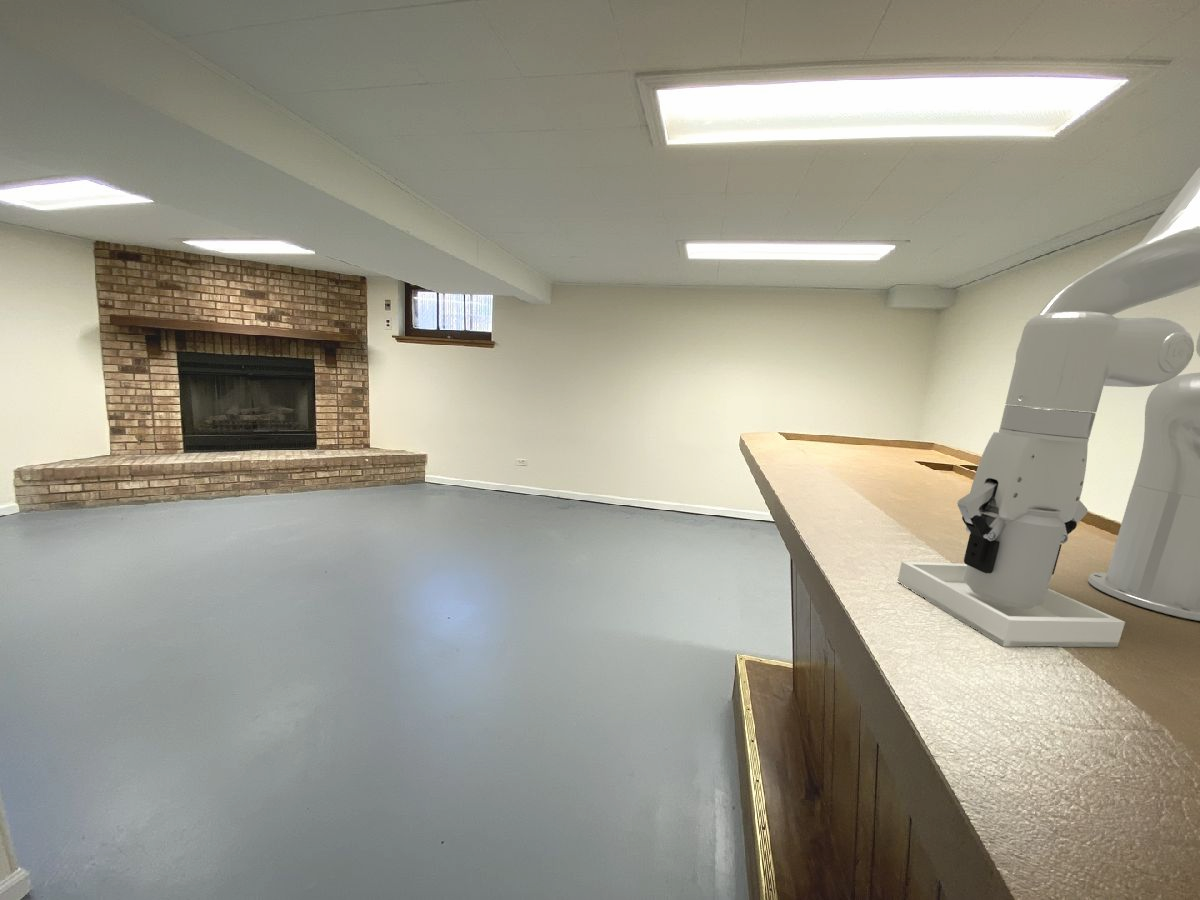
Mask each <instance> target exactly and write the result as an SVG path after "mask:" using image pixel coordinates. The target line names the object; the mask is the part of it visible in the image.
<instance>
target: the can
mask: <svg viewBox="0 0 1200 900" xmlns="http://www.w3.org/2000/svg"><path fill="white" fill-rule="evenodd" d="M989 511H992V512H995V513H998V511H999V509H996V508H991V509H990V510H989ZM1028 511H1029V512H1028V513H1027V514H1026V515H1024V516H1022V517H1020V518H1019V519H1017V520H1015V521H1010V522H1007V523H1006V525H1005V528H1004V529H1003V530H1002V531H1001V532H1000V534H999V535H998V536H997V537H996V539H995V540H996V541H998V542H1000V543H999V549H998V553H997V557H996V561H995V565H994V569H993V572H992V573H984V572H981V571H979V570H977V569H975V568H973V567H971V566H969V565H967V568H966V572H965V576H964V581H965V582H966V584H967V585H968V586H969V587H970V589H971V590H972V591H973V592H974V593H975V594H977V595H979V596H981V597H983V598H985V599H987V600H990V601H992V602H995V603H998V604H1001V605H1005V606H1009V607H1014V608H1020V609H1030V608H1033V607H1035V606H1039V605H1043V603H1044V601H1045V598H1046V594H1047V590H1048V588H1049V586H1050V582H1051V579H1052V576H1053V575H1052V572H1053V569H1054V565H1055V561H1056V558H1057V554H1058V551H1059V547H1060V544H1061V540H1062V536H1063V532H1064V529H1065V524H1064V523H1063V521H1062V520H1061V519H1060V517H1059V516H1058V514H1060V513H1061V511H1060V510H1057V511H1044V510H1037V509H1028ZM993 521H994V519H991V518H988V517H986V523H987V525H988V526H990V525H991V523H992V522H993Z"/></svg>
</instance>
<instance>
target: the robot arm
mask: <svg viewBox="0 0 1200 900" xmlns="http://www.w3.org/2000/svg"><path fill="white" fill-rule="evenodd" d="M1199 286H1200V166H1199V167H1198V168H1197V169H1196V171H1195V172H1194V173H1193V174H1192V176H1191V177H1190V178H1189V180H1188V181H1187V182H1186V183H1185V185H1184V186H1183V187H1182V188H1181V190H1179V192H1178V194H1177V195H1176V196H1175V197H1174V199H1173V200H1172V201H1171V202H1170V204H1169V205H1168V207H1167V208H1166V209H1165V210H1164V211H1163V213H1162V214H1161V216H1160V217H1159V218H1158V220H1157V221H1155V223H1154V225H1152V227H1151V228H1150V230H1149V231H1148V232H1147V234H1146V235H1145V236H1144V238H1143V239H1142V240H1141V241H1140V242H1139V243H1138V244H1135V245H1134V246H1132V247H1130V248H1128V249H1127V250H1124V251H1123V252H1121V253H1119V254H1117V255H1114V256H1113V257H1112V258H1110V259H1108V260H1107V261H1105V262H1104V263H1102V264H1100V265H1099V266H1097V267H1095V268H1094V269H1092V270H1090V271H1089V272H1087V273H1085V274H1083V275H1082V276H1081V277H1079V278H1076V280H1074V281H1073V282H1071V283H1068V285H1067V286H1065V287H1063V289H1061V290H1060V291H1059V292H1058V293H1056V294H1055V295H1054V296H1053V297H1051V299H1049V301H1048V302H1046V304H1045V305H1044V307H1043V308H1042V309H1041V310H1040V311H1039V313H1038V314H1037V315H1035V316H1033V317H1032V318H1030V319H1029V320H1028V321H1027V322H1026V324H1025V325H1024V327H1023V329H1022V333H1021V337H1020V341H1019V342H1018V346H1017V349H1016V352H1015V362H1014V365H1013V371H1012V375H1011V379H1010V383H1009V388H1008V392H1007V395H1006V396H1007V397H1006V399H1005V405H1004V410H1003V412H1002V416H1001V417H1002V418H1001V422H1000V426H999V428H998V432H995V431H994V432H993V433H992V435H991V436H990V438H989V439H988V442H987V444H986V446H985V448H984V450H983V453H982V455H981V458H980V461H979V462H978V466H977V469H976V471H975V474H974V477H973V481H972V484H971V488H970V491H969V493H967V494H966V495H965V496H963V497H962V498H960V499H959V500H958V501H957V503H956V504H957V507H958V509H959V511H960V514H961V516H962V517H961V520H962V521H963V523H964V524H965V526H966V528H965V530H966V532H967V533H969V535H968V536H969V537H968V540H967V545H966V549H965V554H964V557H963V562H964V563H963V564H967V565H969V566H971V567H973V568H975V569H977V570H979V571H981V572H984V573H992V572H993V569H994V565H995V561H996V557H997V553H998V549H999V543H1000V542H998V541H996V540H995V539H996V537H997V536H998V535H999V534H1000V532H1001V531H1002V530H1003V529H1004V528H1005V525H1006V523H1007V522H1010V521H1015V520H1017V519H1019V518H1020V517H1022V516H1024V515H1026V514H1027V513H1028V512H1029V511H1028V509H1037V510H1044V511H1057V510H1060V511H1061V513H1060V514H1058V516H1059V517H1060V519H1061V520H1062V521H1063V523H1064V524H1065V529H1064V532H1063V536H1062V540H1061V543H1060V547H1059V551H1058V554H1057V558H1056V561H1055V565H1054V569H1053V572H1052V576H1053V575H1054V574H1055V570H1056V567H1057V563H1058V560H1059V556H1060V552H1061V548H1062V546H1063V545H1064V544H1066V543H1067V541H1068V540H1069V534H1071V533H1072V532H1073V531H1074V530H1075V529H1076V528H1077V526H1078V524H1079V522H1080V521H1081V520H1083V518H1084V517H1085V516H1086V515H1087V514H1088V508H1087V507H1086V506H1085V505H1084V503H1083V502H1082V501H1081V500H1080V499H1081V495H1082V492H1083V487H1084V482H1085V476H1086V471H1087V460H1088V447H1089V445H1088V444H1089V440H1090V437H1091V433H1092V429H1093V425H1094V422H1095V419H1096V415H1097V411H1098V408H1099V403H1100V402H1101V401H1100V400H1101V396H1102V393H1103V391H1104V387H1118V388H1120V387H1121V388H1122V387H1123V388H1134V387H1135V388H1141V387H1143V388H1144V387H1149V386H1151V387H1152V386H1155V385H1156V386H1155V387H1153V389H1152V390H1151V391H1150V393H1149V395H1148V397H1147V400H1146V403H1145V407H1144V408H1145V409H1144V431H1143V432H1144V433H1143V444H1142V450H1141V455H1140V459H1139V463H1138V467H1137V471H1136V474H1135V477H1134V481H1133V484H1132V487H1131V490H1130V494H1129V497H1128V501H1127V504H1126V507H1125V509H1124V510H1125V511H1124V514H1123V517H1122V520H1121V524H1120V528H1119V531H1118V534H1117V538H1116V542H1115V545H1114V548H1113V550H1112V551H1113V552H1112V555H1111V559H1110V562H1109V565H1108V567H1107V572H1100V571H1099V572H1092V573H1090V574H1089V576H1088V583H1089V584H1090V585H1091V586H1092V587H1094V588H1095V589H1097V590H1098V591H1101V592H1103V593H1105V594H1107V595H1109V596H1112V597H1113V598H1116V599H1119V600H1121V601H1125V602H1126V603H1129V604H1133V605H1135V606H1138V607H1142V608H1143V609H1148V610H1151V611H1154V612H1158V613H1161V614H1162V613H1163V614H1165V615H1170V616H1173V617H1178V618H1182V619H1186V620H1192V621H1198V622H1200V372H1191V373H1185V374H1184V373H1183V374H1181V373H1182V372H1183V371H1184V370H1185V369H1186V368H1187V367H1188V365H1189V364H1190V362H1191V361H1192V358H1193V356H1194V352H1195V351H1194V350H1195V349H1196V354H1197V356H1198V357H1199V358H1200V332H1199V334H1198V336H1197V339H1196V340H1197V341H1196V345H1194V344H1195V343H1194V339H1193V337H1192V335H1191V333H1190V332H1189V331H1188V329H1187V328H1186V327H1184V326H1183V325H1181V324H1180V323H1178V322H1176V321H1174V320H1170V319H1166V318H1161V317H1137V318H1135V317H1132V318H1131V317H1130V318H1129V317H1115V316H1114V315H1116V314H1119V313H1121V312H1123V311H1125V310H1128V309H1131V308H1134V307H1136V306H1140V305H1143V304H1144V305H1145V304H1146V303H1150V302H1153V301H1157V300H1159V299H1164V298H1167V297H1171V296H1173V295H1177V294H1179V293H1182V292H1186V291H1188V290H1191V289H1194V288H1196V287H1199ZM1195 347H1196V348H1195ZM1179 374H1180V375H1179ZM991 508H996V509H999V511H998V513H995V512H992V511H989V510H990V509H991ZM986 517H988V518H991V519H994V521H993V522H992V523H991V525H990V526H988V525H987V523H986Z"/></svg>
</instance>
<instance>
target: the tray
mask: <svg viewBox="0 0 1200 900" xmlns="http://www.w3.org/2000/svg"><path fill="white" fill-rule="evenodd" d="M900 563H901V565H900V569H899V572H898V577H897V581H899V582H900V583H902V584H903V585H905V586H906V587H908V588H909V589H911V590H913V591H914V592H916V593H917V594H918V595H917V594H916V593H915V594H916V595H917V596H919V595H920V596H919V597H921V596H922V597H924V598H925V599H924V598H923V599H924V600H926V601H927V602H929V603H931V604H932V605H934V606H935V607H937V608H938V609H940V610H942V611H944V612H946V613H947V614H949V615H950V616H952V617H954V618H955V619H957V620H958V621H960V622H961V623H963V624H965V625H967V626H968V625H969V626H968V627H970V626H971V627H970V628H972V629H973V628H974V629H973V630H975V629H976V630H975V631H977V630H978V631H979V632H978V631H977V632H978V633H980V634H981V633H982V635H984V636H985V637H986V638H988V639H990V640H991V641H992V642H993V641H994V642H995V643H997V644H998V645H1000V646H1001V647H1003V648H1004V647H1007V648H1008V647H1011V648H1013V647H1022V648H1023V647H1025V646H1058V647H1057V648H1059V647H1060V648H1118V647H1119V644H1120V640H1121V637H1122V633H1123V631H1124V627H1125V625H1126V621H1124V620H1122V619H1119V618H1117V617H1114V616H1113V615H1110V614H1108V613H1105V612H1103V611H1102V610H1099V609H1096V608H1095V607H1092V606H1090V605H1087V604H1085V603H1083V602H1081V601H1078V600H1076V599H1074V598H1072V597H1069V596H1067V595H1064V594H1062V593H1060V592H1058V591H1056V590H1053V589H1051V588H1049V587H1048V590H1047V594H1046V598H1045V601H1044V603H1043V605H1039V606H1035V607H1033V608H1030V609H1020V608H1014V607H1009V606H1005V605H1001V604H998V603H995V602H992V601H990V600H987V599H985V598H983V597H981V596H979V595H977V594H975V593H974V592H973V591H972V590H971V589H970V587H969V586H968V585H967V584H966V582H965V581H964V576H965V572H966V568H967V564H965V563H954V562H953V563H952V562H925V561H924V562H923V561H922V562H921V561H901V562H900ZM906 587H905V588H906ZM909 589H908V590H909ZM911 590H910V591H911ZM914 592H913V593H914ZM922 597H921V598H922Z"/></svg>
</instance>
